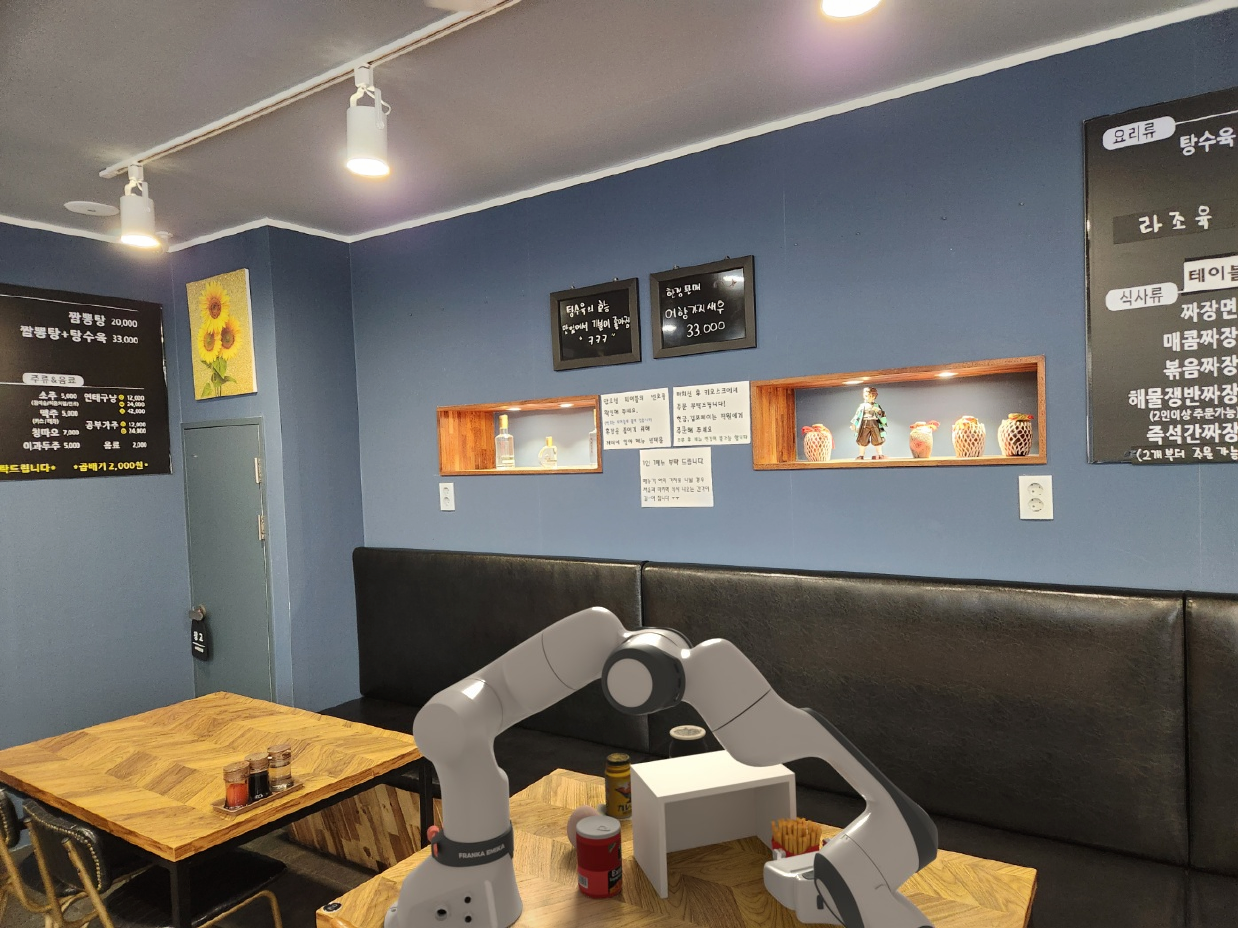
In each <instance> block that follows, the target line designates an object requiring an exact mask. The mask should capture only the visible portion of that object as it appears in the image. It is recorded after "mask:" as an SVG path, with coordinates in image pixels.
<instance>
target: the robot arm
mask: <svg viewBox="0 0 1238 928" xmlns="http://www.w3.org/2000/svg"><path fill="white" fill-rule="evenodd" d="M598 679H601V681H600V682H601V688H602V691H603V694H604V697H605V699H607V700H606V701H608V702H609V704H610V705H611V707H613V708H614V709H615V710H617V711H619V712H620V713H622V714H626V715H629V716H645V715H650V714H653V713H656V712H659V711H660V712H661V711H663V710H667V709H670V708H673V707H676V706H679V705H680V703H681V702H686V703H688V704H689V705H691V706H692V707H693V708H694V709H695V710H696V711H697V712H698V714H699V715H700V716H701V718H702V719H703V721H704V722H705V724H706V725H707V726H708V729H709V730H710V731H711V732H712V734H713V736H714V737H715V738H716V740H717V742H719V744H720V745H721V746H722V748H723V749H724V750H726V751H727V752H728V753H729V754H730V756H731V757H732V758H733V759H735V760H736V761H738V762H740V763H742V764H745V765H748V766H753V767H767V766H774V765H778V764H782V765H783V764H786V763H788V762H789V763H790V762H792V761H796V760H799V759H803V758H804V759H805V758H810V757H814V758H819V759H822V760H824V761H825V762H827V764H829V765H830V766H831V767H832V768H833V769H834V770H836V772H837V773H839V775H840V776H841V777H843V779H844V780H845V781H846V782H847V783H848V784H849V785H850V786H851V787H852V788H853V789H854V790H855V791H856V792H857V793H858V794H859V795H860V796H861V797H862V798H863V799H864V800H865V803H866V807H865V810H864V811H863V812H862V813H861V814H860V815H858V817H856V818H855V819H854V820H853V821H852V822H850V823H849V824H848V825H847V826H846V827H844V828H843V829H842V830H841V831H840V832H838V833H837V834H836V835H835V836H833V837H827V838H822V840H821V841H822V842H821V843H822V845H821V846H822V847H821V848H819V851H815V852H811V853H806V854H802V855H797V856H793V857H788V858H785V857H786V852H785V851H784V850H782V848H780V849H774V850H773V851H772V858H773V860H771V861H770V860H769V861H766V862H765V863H764V866H763V870H762V871H763V883H764V887H765V889H766V890H767V891H768V893H769V894H770V895H771V896H772V897H773V898H774V899H775V900H777V902H779V903H780V904H781V905H783V907H785V908H787V909H788V910H791V911H795V916H796V918H797V920H798V921H800V922H801V923H803V924H826V925H827V924H829V925H834V926H843V927H844V928H936V926H935V925H934V924H933V922H932V921H931V920H930V919H929V918H928V917H927V916H926V915H925V913H923V912H922V911H921V909H920V908H919V907H918V906H917V905H915V904H914V903H913V901H911V899H909V898H908V897H907V896H905V895H904V894H903V893H902V892H901V891H900V890H898V889H900V887H901V886H903V884H905V883H906V882H907V881H908V880H909V879H910V878H912V876H914V875H915V874H916V873H917V874H918V873H919V872H920V871H921V870H923V869H924V868H925V867H928V866H929V865H930V864H932V862H934V861H935V860H936V859H937V856H938V850H939V849H938V848H939V834H938V828H937V826H936V824H935V822H934V821H933V819H932V818H931V817H930V816H929V814H928V813H927V812H926V811H925V810H924V809H923V808H922V807H921V806H920V805H919V804H917V802H915V801H914V800H913V799H912V798H910V797H909V796H908V795H907V794H906V793H905V792H903V791H902V790H901V789H900V788H899V787H898V786H896V785H895V784H894V783H893V782H892V781H891V780H890V779H889V778H888V777H887V776H886V775H885V774H884V773H883V772H882V771H881V770H880V769H879V768H878V767H877V766H876V765H875V764H874V763H873V762H872V761H871V760H870V759H869V758H867V756H865V754H864V753H863V752H862V751H860V750H859V748H858V747H856V746H855V744H854V743H852V741H850V740H849V739H848V737H846V736H845V735H844V734H843V733H842V732H841V731H840V730H839V729H838V728H837V727H836V726H834V725H833V724H832V723H831V722H830V721H829V720H828V719H827V718H826V717H824V716H823V715H822V714H820V713H819V712H818V711H816V710H813V708H810V707H801V708H797V707H796V706H793V705H792V704H790V703H789V702H787V701H785V700H784V699H783V698H782V697H781V696H779V694H777V692H776V691H775V690H774V689H773V687H772V685H771V684H770V683H769V681H767V679H766V678H765V676H764V675H763V674H762V673H761V672H760V670H759V669H758V668H757V667H756V666H755V665H754V664H753V662H752V661H751V659H749V658H748V657H747V656H746V655H745V654H744V653H743V652H742V651H741V650H740V649H739V648H738V647H737V646H736V645H735V644H734V643H732V642H731V641H729V640H727V639H724V638H720V637H719V638H711V639H707V640H705V641H702V642H700V643H699V644H697V645H696V646H695V647H694V645H693V644H692V642H691V641H690V640H689V638H688V637H687V636H686V635H685V634H683V633H682V632H680V630H679V631H678V630H677V629H673V628H670V627H666V626H665V627H662V626H635V627H633V628H632V629H631V630H627V629H626V628H625V627H624V625H623V624H622V622H621V620H620V619H619V618H618V616H617V615H615V613H613V612H612V611H610V610H609V609H607V608H605V607H602V606H592V607H589V608H585V609H583V610H580V611H578V612H575V613H572V614H571V615H568V616H566V617H564V618H563V619H560V620H558V621H556V622H554V623H553V624H551V625H549V626H546V628H543V629H542V630H541V631H540V632H538V633H536V634H534V635H533V636H531V637H529V638H528V639H526V640H525V641H523V642H521V643H519V644H518V645H517V646H514V647H513V648H511V649H509V650H508V651H507V652H506V653H504V654H503V655H501V656H499V657H497V658H496V659H495V660H493V661H491V662H490V663H488V664H487V665H485V666H484V667H482V668H481V669H479V670H478V671H475V672H474V673H472V674H470V675H468V676H467V677H465V678H462V679H461V680H459V681H458V682H456V683H454V684H452V685H450V686H449V687H447V688H445V689H443V690H440V691H439V692H438V693H436V694H435V695H433V696H432V697H431V698H430V699H429V700H428V701H427V702H426V703H425V704H424V706H422V708H421V709H420V710H419V711H418V712H417V714H416V716H415V718H414V721H413V726H412V735H413V741H414V743H415V746H416V748H417V750H418V751H419V752H420V753H421V755H422V756H423V757H424V758H426V759H427V760H428V761H430V762H432V764H433V766H434V768H435V771H436V773H437V777H438V781H439V785H440V791H441V792H440V793H441V805H442V806H441V807H442V809H441V810H442V828H441V829H440V828H439V827H438V826H437V825H432V826H430V827H428V829H427V832H426V835H427V840H428V841H429V842H430V854H429V855H428V856H427V857H426V858H425V859H424V860H423V861H421V862H420V863H419V864H418V865H417V866H416V867H415V868H413V869H412V870H411V871H410V872H409V873H407V875H406V876H405V878H404V879H403V880H402V884H401V887H400V889H399V892H398V893H399V894H398V898H397V900H395V901H394V902H393V903H392V904H391V905H390V907H389V908H388V909H387V912H386V913H385V916H384V922H383V928H508V927H510V925H512V924H514V922H516V920H518V918H519V917H520V915H521V914H522V912H523V907H524V903H523V900H522V898H521V894H520V892H519V891H520V890H519V887H518V883H517V879H516V874H515V873H516V872H515V868H514V860H513V858H514V851H515V835H514V834H515V831H514V827H513V822H512V820H511V815H510V811H511V810H510V785H509V783H510V782H509V781H510V780H509V777H508V775H507V773H506V772H505V771H504V769H503V768H501V767H499V765H498V762H497V760H496V757H495V752H494V741H495V738H496V737H497V736H498V735H500V734H501V733H503V732H504V731H506V730H507V729H508V728H510V727H512V726H514V725H515V724H517V723H519V722H521V721H522V720H525V719H526V718H529V717H530V716H532V715H535V714H537V713H540V712H542V711H544V710H546V709H547V708H549V707H551V706H552V705H554V704H556V703H558V702H559V701H561V700H563V699H565V698H566V697H568V696H570V695H571V694H573V693H575V692H577V691H579V690H580V689H582V688H584V687H585V686H587V685H588V684H590V683H592V682H594V681H597V680H598Z"/></svg>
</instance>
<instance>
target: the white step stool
mask: <svg viewBox="0 0 1238 928" xmlns="http://www.w3.org/2000/svg"><path fill="white" fill-rule="evenodd" d="M630 774H631V801H632V820H631V825H632V850H633V851H632V852H633V855H632V856H633V858H634V859H635V861H636V863H638V865H639V867H640V868H641V870H642V871H643V873H644V874H645V876H646V878H647V880H649V881H650V884H651V886H652V887H653V888H654V890H655V891H656V893H657V894H658V896H659V897H660V899H665V898H668V897H669V895H668V894H669V893H668V892H669V891H668V890H669V889H668V869H667V868H668V864H667V854H668V853H673V852H679V851H685V850H689V849H694V848H699V847H704V846H710V845H715V844H720V843H724V842H730V841H734V840H735V841H736V840H740V839H747V838H751V837H755V836H756V837H757V838H758V839H759V840H760V841H761V842H762V843H764V845H766V847H768V849H769V850H771V851H772V852H773V849H772V842H771V840H772V835H773V831H772V822H771V821H775V826H776V827H778V819H780V820H781V818H784V819H785V821H786V820H787V818H788V819H790V820H792V819H793V820H796V817H797V798H796V797H797V796H796V773H795V772H794V771H792V770H790V769H789V768H787V766H785V765H783V763H782V764H778V765H774V766H767V767H753V766H748V765H745V764H742V763H740V762H738V761H736V760H735V759H733V758H732V757H731V756H730V754H729V753H728V752H727V751H726V750H725V749H724V750H717V751H710V752H708V753H704V754H697V755H691V756H685V757H678V758H672V759H670V758H667V759H660V760H653V761H649V762H642V763H635V764H631V765H630ZM778 832H779V830H778Z"/></svg>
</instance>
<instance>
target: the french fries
mask: <svg viewBox="0 0 1238 928" xmlns="http://www.w3.org/2000/svg"><path fill="white" fill-rule="evenodd" d="M771 822H772V831H773V835H772V840H771V842H772V849H773V850H774V849H780V848H782V850H784V851H785V852H786V857H785V858H788V857H793V856H797V855H802V854H806V853H811V852H815V851H819V850H820V845H821V844H820V842H821V836H822V833H823V830H822V824H819V823H816V822H814V821H812V820H807V821H806V818H804V817H797V816H796V820H793V819H792V820H790V819H788V818H787V820H786V821H785V819H784V818H781V820H780V819H778V827H776V826H775V821H771ZM778 830H779V832H778Z"/></svg>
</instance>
